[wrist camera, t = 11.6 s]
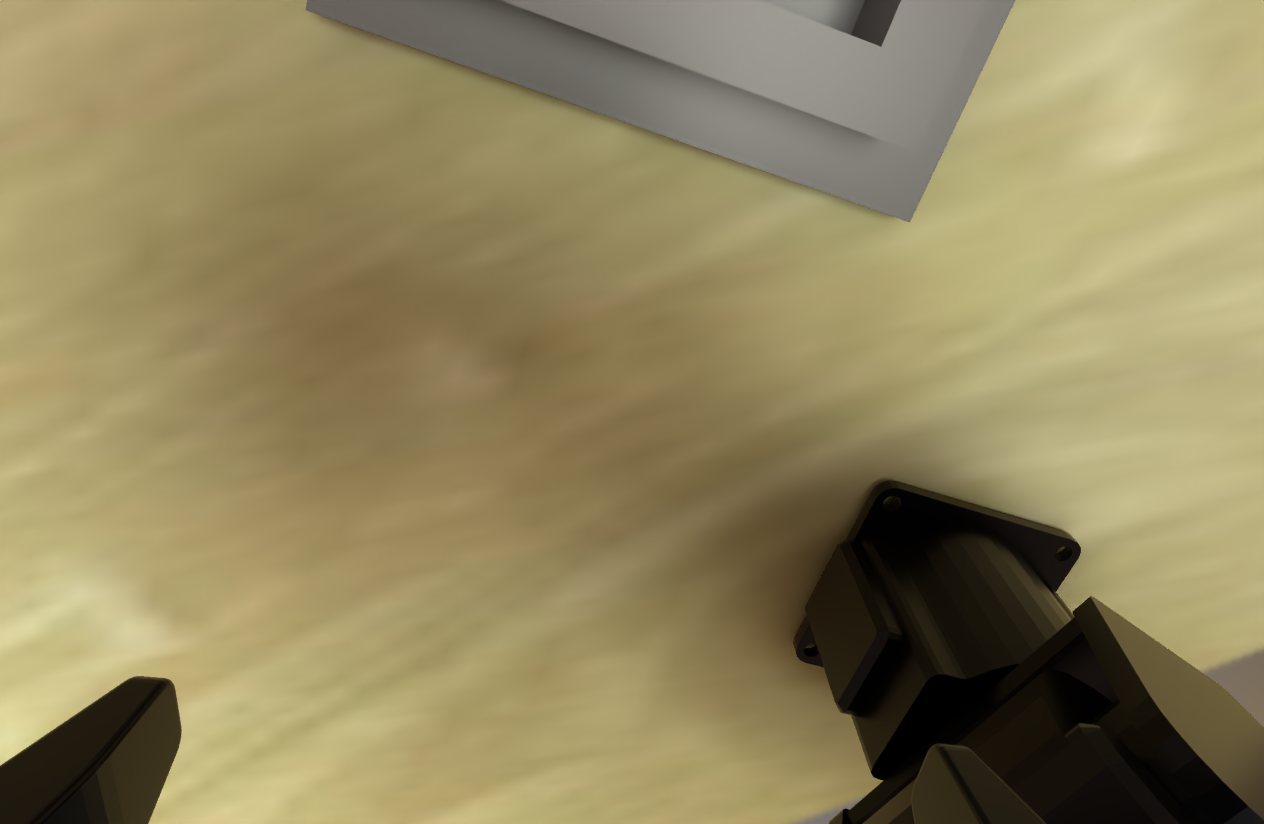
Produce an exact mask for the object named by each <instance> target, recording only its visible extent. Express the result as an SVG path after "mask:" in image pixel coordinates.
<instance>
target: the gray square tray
mask: <svg viewBox="0 0 1264 824" xmlns="http://www.w3.org/2000/svg"><path fill="white" fill-rule="evenodd" d="M1014 2H1015V0H307V6H306V10H308V11H310V12H313V13H316V14H319V15H322V16H325V17H327V18H330V19H333V20H336V21H339V22H342V23H345V24H347V25H350V26H353V27H356V28H359V29H362V30H364V31H367V32H370V33H373V34H376V35H379V36H381V37H384V38H387V39H390V40H393V41H396V42H399V43H401V44H404V45H407V46H410V47H413V48H416V49H418V50H421V51H424V52H427V53H430V54H433V55H435V56H438V57H441V58H444V59H447V60H450V61H453V62H455V63H458V64H461V65H464V66H467V67H470V68H472V69H475V70H478V71H481V72H484V73H487V74H489V75H492V76H495V77H498V78H501V79H504V80H507V81H509V82H512V83H515V84H518V85H521V86H524V87H526V88H529V89H532V90H535V91H538V92H541V93H543V94H546V95H549V96H552V97H555V98H558V99H561V100H563V101H566V102H569V103H572V104H575V105H578V106H580V107H583V108H586V109H589V110H592V111H595V112H597V113H600V114H603V115H606V116H609V117H612V118H615V119H617V120H620V121H623V122H626V123H629V124H632V125H634V126H637V127H640V128H643V129H646V130H649V131H651V132H654V133H657V134H660V135H663V136H666V137H669V138H671V139H674V140H677V141H680V142H683V143H686V144H688V145H691V146H694V147H697V148H700V149H703V150H705V151H708V152H711V153H714V154H717V155H720V156H723V157H725V158H728V159H731V160H734V161H737V162H740V163H742V164H745V165H748V166H751V167H754V168H757V169H759V170H762V171H765V172H768V173H771V174H774V175H777V176H779V177H782V178H785V179H788V180H791V181H794V182H796V183H799V184H802V185H805V186H808V187H811V188H813V189H816V190H819V191H822V192H825V193H828V194H831V195H833V196H836V197H839V198H842V199H845V200H848V201H850V202H853V203H856V204H859V205H862V206H865V207H867V208H870V209H873V210H876V211H879V212H882V213H885V214H887V215H890V216H893V217H896V218H899V219H902V220H904V221H907V222H910V221H911V219H912V216H913V214H914V212H915V210H916V208H917V206H918V204H919V202H920V200H921V197H922V195H923V193H924V191H925V189H926V187H927V185H928V183H929V181H930V179H931V176H932V174H933V172H934V170H935V168H936V166H937V164H938V162H939V160H940V158H941V155H942V153H943V151H944V149H945V147H946V145H947V143H948V141H949V139H950V136H951V134H952V132H953V130H954V128H955V126H956V124H957V122H958V120H959V118H960V115H961V113H962V111H963V109H964V107H965V105H966V103H967V101H968V99H969V96H970V94H971V92H972V90H973V88H974V86H975V84H976V82H977V80H978V78H979V75H980V73H981V71H982V69H983V67H984V65H985V63H986V61H987V59H988V56H989V54H990V52H991V50H992V48H993V46H994V44H995V42H996V40H997V38H998V35H999V33H1000V31H1001V29H1002V27H1003V25H1004V23H1005V21H1006V19H1007V16H1008V14H1009V12H1010V10H1011V8H1012V6H1013V4H1014Z"/></svg>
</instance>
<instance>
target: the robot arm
mask: <svg viewBox="0 0 1264 824" xmlns="http://www.w3.org/2000/svg"><path fill="white" fill-rule="evenodd" d="M889 496H896V499H895V500H894V501H893V502H892V503H889V504H883V502H884V500H885V499H886V498H887V497H889ZM1061 547H1065V548H1064V549H1063V550H1062V551H1061V552H1058V553H1055V552H1056V551H1057V550H1058V549H1059V548H1061ZM1080 553H1081V547H1080V546H1079V544H1078V543H1077V542H1076V540H1075V539H1074V538H1073V537H1072V536H1071V535H1070V534H1068V533H1066V532H1063V531H1060V530H1056V529H1053V528H1050V527H1046V526H1043V525H1040V524H1036V523H1033V522H1030V521H1026V520H1023V519H1019V518H1016V517H1013V516H1009V515H1006V514H1003V513H999V512H996V511H993V510H989V509H986V508H983V507H979V506H976V505H973V504H969V503H966V502H962V501H959V500H956V499H952V498H949V497H946V496H942V495H939V494H936V493H932V492H929V491H926V490H922V489H919V488H916V487H912V486H909V485H905V484H902V483H899V482H895V481H886V482H882V483H880V484H879V485H877V486H876V487H875V488H874V489H873V491H872V492H871V494H870V496H869V498H868V500H867V501H866V503H865V505H864V507H863V509H862V511H861V513H860V515H859V517H858V518H857V520H856V522H855V524H854V526H853V528H852V530H851V532H850V534H849V536H848V537H847V539H846V540H844V541H843V542H841V543H840V544H838V546H837V547H836V549H835V551H834V553H833V555H832V557H831V559H830V561H829V563H828V565H827V566H826V568H825V570H824V572H823V574H822V576H821V578H820V580H819V582H818V584H817V586H816V587H815V589H814V591H813V593H812V595H811V597H810V599H809V601H808V603H807V605H806V607H805V611H806V614H807V615H806V617H805V619H804V621H803V623H802V625H801V626H800V628H799V630H798V632H797V634H796V636H795V638H794V642H793V644H794V648H795V652H796V655H797V657H798V658H799V659H800V660H801V661H803V662H805V663H809V664H813V665H817V666H821V667H824V669H825V672H826V675H827V678H828V682H829V685H830V688H831V691H832V694H833V697H834V700H835V703H836V705H837V707H838V708H839V710H840V712H841V713H844V714H848V715H852V718H853V721H854V724H855V727H856V730H857V733H858V736H859V739H860V742H861V745H862V748H863V751H864V754H865V757H866V759H867V762H868V765H869V768H870V771H871V774H872V775H873V777H875V778H877V779H880V780H884V781H883V782H882V783H881V784H879V785H878V786H877V787H876V788H875V789H874V790H872V791H871V792H870V793H869V794H868V795H867V796H865V797H864V798H863V799H862V800H861V801H860V802H858V803H857V804H856V805H855V806H854V807H853V808H851V809H850V810H848V809H843V810H842V811H841V812H840V813H839V814H837V816H835V817H834V818H833V819H832V820H831V821H830V822H829V824H1264V728H1263V726H1262V725H1260V724H1259V723H1258V721H1256V719H1254V718H1253V717H1252V716H1251V715H1250V714H1249V713H1248V712H1247V711H1246V710H1245V709H1244V708H1243V707H1242V706H1241V705H1240V704H1239V703H1238V702H1237V701H1236V700H1235V699H1234V698H1233V697H1232V696H1231V695H1230V694H1229V693H1228V692H1227V691H1226V690H1225V689H1224V688H1223V687H1221V686H1220V685H1219V684H1217V683H1216V682H1215V681H1213V680H1212V679H1210V678H1209V677H1208V676H1206V675H1205V674H1203V673H1202V672H1200V671H1199V670H1197V669H1196V668H1195V667H1193V666H1192V665H1190V664H1189V663H1187V662H1186V661H1185V660H1183V659H1182V658H1180V657H1179V656H1177V655H1176V654H1174V653H1173V652H1172V651H1170V650H1169V649H1167V648H1166V647H1164V646H1163V645H1162V644H1160V643H1159V642H1157V641H1156V640H1154V639H1153V638H1152V637H1150V636H1149V635H1147V634H1146V633H1144V632H1143V631H1141V630H1140V629H1139V628H1137V627H1136V626H1134V625H1133V624H1131V623H1130V622H1129V621H1127V620H1126V619H1124V618H1123V617H1121V616H1120V615H1118V614H1117V613H1116V612H1114V611H1113V610H1111V609H1110V608H1108V607H1107V606H1106V605H1104V604H1103V603H1101V602H1100V601H1098V600H1097V599H1095V598H1094V597H1092V596H1090V597H1089V598H1088V599H1087V600H1086V601H1085V602H1083V603H1082V604H1081V605H1080V606H1079V607H1078V608H1076V609H1075V610H1074V611H1073V614H1072V612H1071V611H1070V610H1069V608H1068V607H1067V606H1066V604H1065V603H1064V602H1063V601H1062V599H1061V598H1060V597H1059V595H1058V594H1057V593H1056V591H1057V589H1058V588H1059V586H1060V585H1061V583H1062V582H1063V580H1064V579H1065V577H1066V576H1067V574H1068V573H1069V571H1070V570H1071V568H1072V567H1073V566H1074V564H1075V563H1076V561H1077V560H1078V558H1079V556H1080ZM810 644H816V645H815V646H814V647H812V648H805V647H806V646H807V645H810ZM180 740H181V722H180V716H179V710H178V703H177V697H176V691H175V687H174V684H173V683H172V681H171V680H169V679H166V678H156V677H144V676H136V677H132V678H130V679H128V680H126V681H124V682H123V683H121V684H120V685H119V686H117V687H116V688H114V689H113V690H111V691H110V692H108V693H107V694H105V695H104V696H102V697H101V698H99V699H98V700H96V701H95V702H93V703H92V704H91V705H89V706H88V707H86V708H85V709H83V710H82V711H80V712H79V713H77V714H76V715H74V716H73V717H71V718H70V719H68V720H67V721H65V722H64V723H63V724H61V725H60V726H58V727H57V728H55V729H54V730H52V731H51V732H49V733H48V734H46V735H45V736H43V737H42V738H40V739H39V740H37V741H36V742H34V743H33V744H32V745H30V746H29V747H27V748H26V749H24V750H23V751H21V752H20V753H18V754H17V755H15V756H14V757H12V758H11V759H9V760H8V761H6V762H5V763H4V764H2V765H1V766H0V824H148V823H149V821H150V818H151V816H152V813H153V811H154V808H155V806H156V803H157V801H158V798H159V796H160V793H161V791H162V788H163V786H164V783H165V781H166V778H167V776H168V773H169V771H170V769H171V766H172V764H173V761H174V759H175V756H176V754H177V751H178V748H179V744H180Z"/></svg>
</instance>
